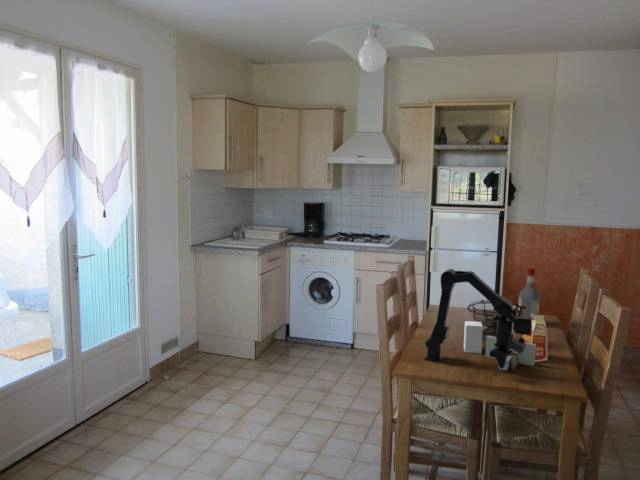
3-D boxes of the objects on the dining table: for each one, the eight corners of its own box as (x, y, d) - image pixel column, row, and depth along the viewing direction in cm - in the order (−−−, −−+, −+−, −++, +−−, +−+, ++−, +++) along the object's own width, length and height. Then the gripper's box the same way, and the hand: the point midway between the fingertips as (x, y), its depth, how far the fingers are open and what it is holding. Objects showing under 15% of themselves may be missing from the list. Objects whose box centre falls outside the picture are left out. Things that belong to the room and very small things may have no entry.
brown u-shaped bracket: (514, 369, 215) (515, 357, 214) (494, 364, 219) (495, 353, 218) (518, 363, 221) (518, 352, 220) (498, 359, 225) (499, 348, 224)
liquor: (516, 324, 275) (519, 268, 271) (521, 320, 282) (524, 266, 278) (534, 327, 270) (538, 271, 265) (538, 323, 277) (542, 268, 273)
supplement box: (481, 353, 232) (483, 326, 230) (464, 352, 233) (465, 325, 231) (480, 348, 239) (481, 321, 237) (463, 347, 240) (464, 320, 239)
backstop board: (533, 366, 218) (535, 345, 217) (485, 356, 229) (486, 336, 227) (534, 364, 220) (535, 344, 218) (486, 355, 230) (487, 335, 229)
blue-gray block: (506, 370, 213) (507, 363, 213) (498, 368, 215) (499, 361, 214) (511, 363, 221) (512, 356, 220) (504, 362, 222) (504, 354, 222)
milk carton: (531, 362, 222) (534, 317, 219) (517, 354, 231) (520, 311, 228) (549, 360, 225) (552, 315, 222) (535, 353, 233) (538, 309, 231)
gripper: (520, 341, 198) (517, 380, 201) (529, 329, 214) (527, 365, 216) (490, 336, 204) (488, 374, 206) (501, 324, 220) (499, 359, 222)
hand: (501, 368), depth 213 cm, fingers closed
